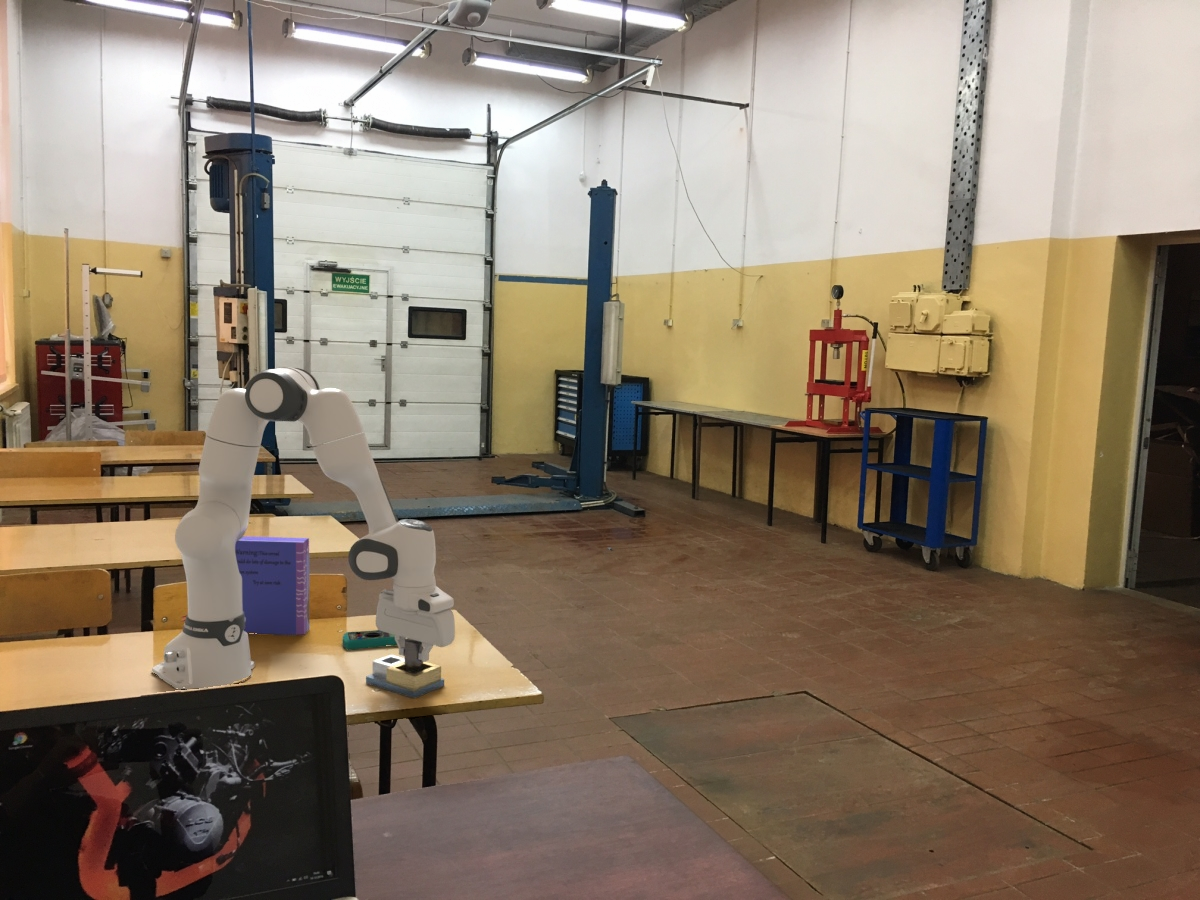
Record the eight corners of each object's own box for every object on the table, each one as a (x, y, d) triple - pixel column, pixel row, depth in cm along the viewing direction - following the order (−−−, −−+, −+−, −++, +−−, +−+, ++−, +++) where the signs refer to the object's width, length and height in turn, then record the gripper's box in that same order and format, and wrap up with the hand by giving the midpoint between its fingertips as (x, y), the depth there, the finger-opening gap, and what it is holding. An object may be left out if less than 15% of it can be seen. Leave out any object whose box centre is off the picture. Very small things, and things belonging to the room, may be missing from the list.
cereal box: (309, 629, 244) (309, 537, 241) (304, 635, 239) (303, 541, 236) (240, 627, 243) (239, 535, 240) (233, 633, 239) (232, 539, 236)
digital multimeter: (341, 642, 236) (341, 630, 236) (402, 637, 241) (402, 626, 241) (344, 652, 229) (344, 640, 229) (406, 647, 234) (406, 635, 234)
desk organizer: (366, 683, 208) (366, 663, 208) (396, 671, 216) (396, 652, 216) (414, 698, 201) (414, 677, 200) (444, 685, 208) (444, 665, 208)
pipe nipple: (400, 680, 206) (400, 640, 205) (413, 675, 210) (414, 635, 208) (413, 685, 204) (414, 644, 203) (426, 679, 208) (427, 639, 206)
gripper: (369, 590, 208) (368, 651, 209) (439, 607, 196) (438, 672, 198) (390, 584, 213) (389, 644, 214) (459, 600, 202) (458, 664, 203)
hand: (413, 657), depth 206 cm, fingers open, 4 cm apart
